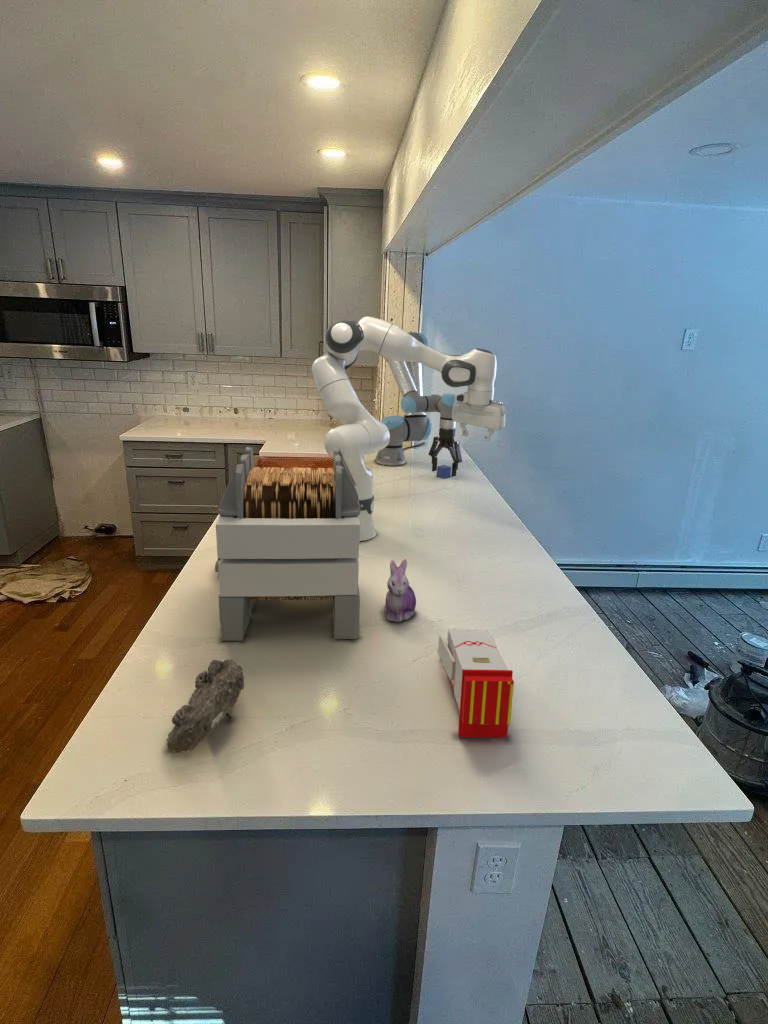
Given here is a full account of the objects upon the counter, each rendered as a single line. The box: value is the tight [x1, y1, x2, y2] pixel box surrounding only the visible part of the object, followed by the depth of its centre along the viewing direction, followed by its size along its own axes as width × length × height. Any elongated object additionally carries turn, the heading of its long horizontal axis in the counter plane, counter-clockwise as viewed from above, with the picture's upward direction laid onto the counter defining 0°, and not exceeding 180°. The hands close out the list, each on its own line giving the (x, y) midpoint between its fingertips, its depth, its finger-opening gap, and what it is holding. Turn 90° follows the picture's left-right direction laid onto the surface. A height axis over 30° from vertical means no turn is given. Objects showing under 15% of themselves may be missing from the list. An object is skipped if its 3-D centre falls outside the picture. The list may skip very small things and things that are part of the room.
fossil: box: [166, 658, 245, 754], centre depth 106 cm, size 22×10×15 cm
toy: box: [437, 628, 515, 738], centre depth 117 cm, size 12×13×30 cm
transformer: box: [215, 446, 361, 642], centre depth 142 cm, size 34×33×41 cm
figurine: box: [384, 558, 417, 623], centre depth 145 cm, size 9×10×15 cm
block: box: [436, 464, 452, 479], centre depth 270 cm, size 5×5×5 cm
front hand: (475, 438), depth 197 cm, fingers open, 8 cm apart
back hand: (443, 473), depth 271 cm, fingers open, 11 cm apart
